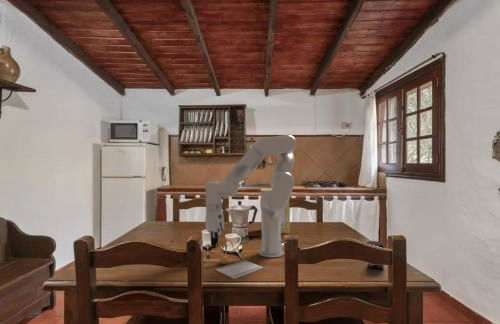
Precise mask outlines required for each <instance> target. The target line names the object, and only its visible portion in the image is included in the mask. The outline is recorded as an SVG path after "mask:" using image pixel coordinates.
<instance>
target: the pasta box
mask: <svg viewBox="0 0 500 324" xmlns="http://www.w3.org/2000/svg"><path fill="white" fill-rule="evenodd" d="M271 190H272V188H260V197H261V196H262V194H263V193H264V192H266V191H271ZM260 218H261V227H260V228H261V230H262V216H261V215H260ZM280 219H281V223H280V224H281V234H290V233H291V232H290V231H291V229H290V227H291V225H290V224H291V223H290V199H289V200H288V202H287V204H286V206H285V208H284V209H283V210H282V211H281V212H280Z"/></svg>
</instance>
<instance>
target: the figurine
mask: <svg viewBox="0 0 500 324" xmlns="http://www.w3.org/2000/svg"><path fill="white" fill-rule="evenodd" d="M220 242H222V243H223V244H221V252H222V253H221V255H220V256H219V263H221V264H222V265H227V263H228V262H229V257H228V256H227V252H228V244H227V243H228V242H230V244H231V246H232V247H231V248H232V249H233V248H234V244H233V241H232V240H231V239H229V238H227V237H226V236H223V238H221V239H218V243H217V244H218V245H219V243H220ZM217 244H216V246H215V247H218V245H217ZM224 249H225V253H224Z"/></svg>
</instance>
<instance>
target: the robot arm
mask: <svg viewBox="0 0 500 324" xmlns="http://www.w3.org/2000/svg"><path fill="white" fill-rule="evenodd" d="M297 146H298V145H297V140H296V138H295V137H294V136H293V135H290V134H284V135H277V136H267V137H261V138H260V139H257V140H255V142H254V143H253V144H252V145H251V146H250V148H249V149H248V150H247V151H246V153H245V154H243V156H242V157H241V159H240V160H239V161H238V162H237V163H236V164H235V166H234V167H233V168H232V170H230V172H229V173H228V174H227V175H226V176H225V177H224V179H223V180H222V181H221V182H220V181H207V182H206V183H205V220H204V221H205V222H204V224H205V225H204V226H205V229H206V230H207V232H208V233H209V237H210V246H211V247H217V246H219V243H218V241H219V237H220V235H223V231H225V218H224V212H223V209H222V208H223V207H222V205H223V204H222V197H227V198H228V197H229V198H230V197H231V198H232V197H234V196H236V195H237V194H238V193H239V186H238V185H239V184H240V183H241V182H242V180H244V179H245V178H246V177H247V176H249V175H250V174H252V173H253V172H254V171H255V170H256V169H257V168H258V167H259V165H260V163H261V162H262V161H263V160H264V158H266V156H272V155H273V156H274V155H277V157H278V158H277V161H276V164H275V167H274V170H273V172H272V174H271V176H270V180H269V184H270V186H271V189H272V190H271V191H266V192H264V193H263V194H262V196H261V195H260V200H259V203H260V204H259V205H260V217H261V216H262V229H261V249H259V251H258V254H259V256H261V257H263V258H264V257H265V258H280V257H282V256H284V255H285V251H284V250H283V248H285V247H284V243H285V242H284V243H281V242H282V241H281V239H282V237H281V235H282V233H281V224H280V223H281V219H280V212H281V211H282V210H283V209H284V208H285V206H286V204H287V202H288V200H289V201H290V198H291V195H292V192H293V189H294V187H295V178H294V176H293V175H292V171H293V168H294V167H295V166H294V165H295V159H296V158H295V154H294V150H295V149H296V148H297ZM217 243H218V244H217ZM216 244H217V246H216Z"/></svg>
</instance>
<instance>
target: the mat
mask: <svg viewBox="0 0 500 324" xmlns="http://www.w3.org/2000/svg"><path fill="white" fill-rule="evenodd" d="M263 268H264V267H263V266H261V265H258V264H256V263H253V262H251V261H248V260H241V261H238V262H235V263H232V264H229V265H225V266H223V267H219V268H216V271H217V272H219V273H221V274H223V275H225V276H227V277H230V278H232V279H234V280H235V279H238V278H240V277H244V276H246V275H248V274H252V273H254V272H258V271H259V270H263Z"/></svg>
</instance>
